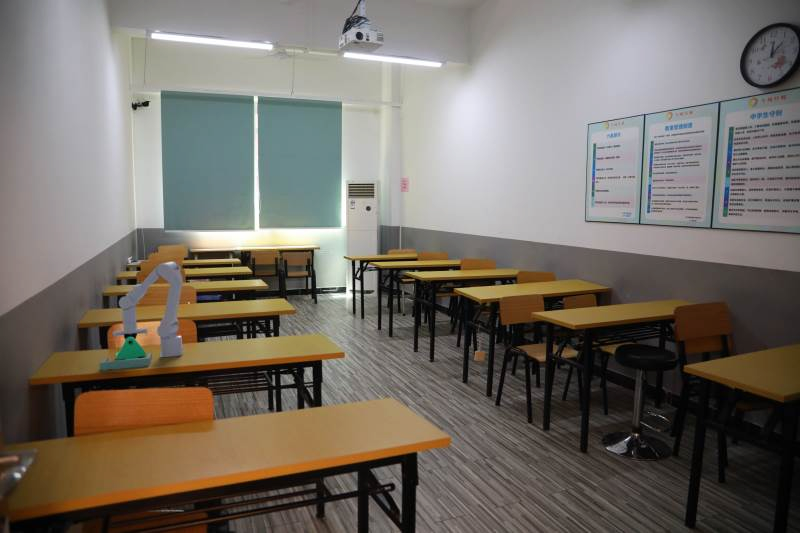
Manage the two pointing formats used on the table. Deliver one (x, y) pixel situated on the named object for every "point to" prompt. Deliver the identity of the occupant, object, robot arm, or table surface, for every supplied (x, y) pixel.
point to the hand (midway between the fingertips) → (131, 349)
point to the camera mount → (130, 350)
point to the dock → (125, 363)
